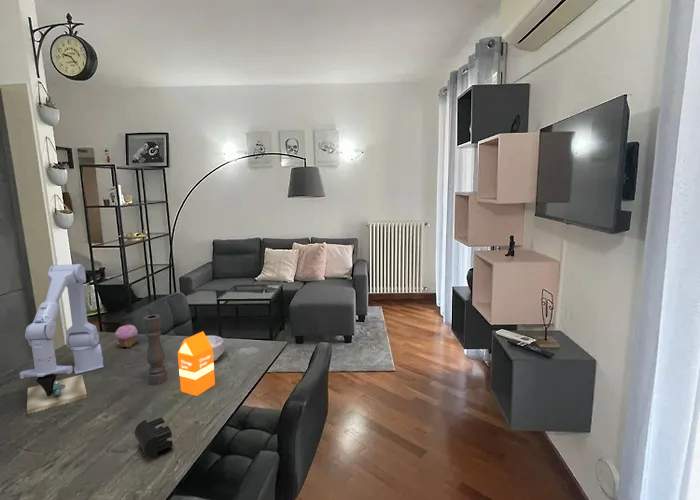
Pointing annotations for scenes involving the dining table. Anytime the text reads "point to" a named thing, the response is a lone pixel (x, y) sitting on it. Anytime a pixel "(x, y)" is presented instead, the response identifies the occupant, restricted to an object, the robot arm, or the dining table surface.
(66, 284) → the robot arm
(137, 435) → the end cap
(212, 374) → the orange juice
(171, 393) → the dining table surface
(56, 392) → the teal rounded rod
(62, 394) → the latch board
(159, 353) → the candle holder
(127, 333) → the cupcake
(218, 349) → the paper bowls
